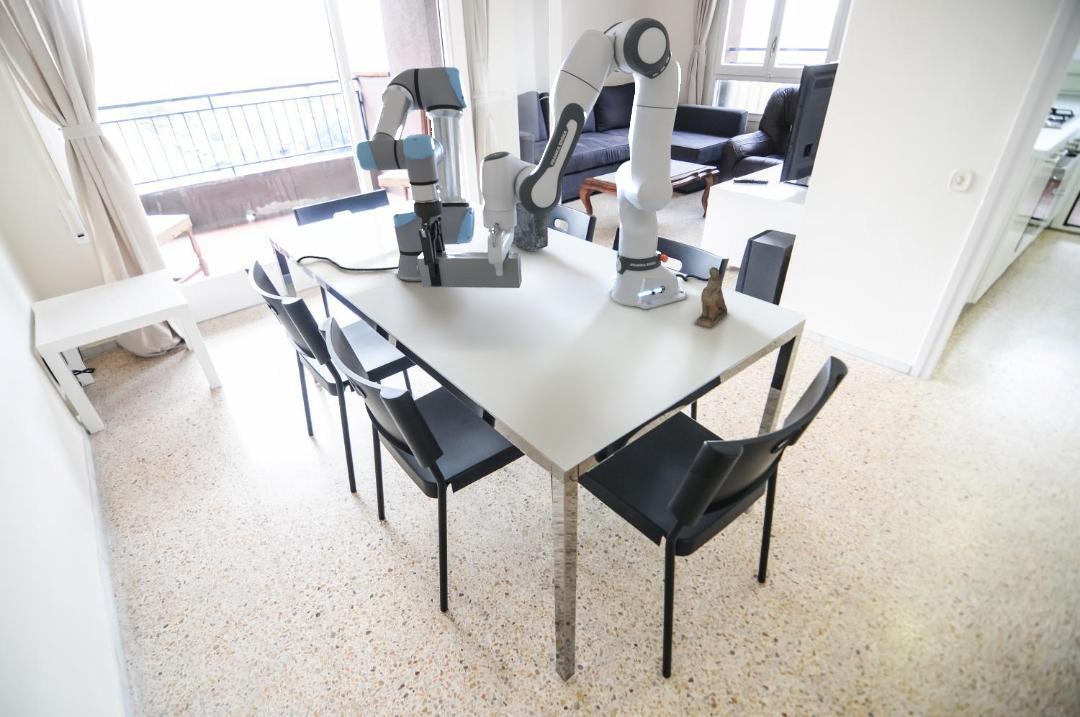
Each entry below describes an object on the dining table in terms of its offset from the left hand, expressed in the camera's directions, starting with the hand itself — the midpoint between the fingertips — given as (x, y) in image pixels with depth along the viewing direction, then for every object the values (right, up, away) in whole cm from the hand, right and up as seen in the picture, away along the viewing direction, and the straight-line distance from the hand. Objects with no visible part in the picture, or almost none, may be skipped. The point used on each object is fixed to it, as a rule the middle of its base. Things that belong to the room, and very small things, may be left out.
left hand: (439, 282), depth 142 cm
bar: (+10, -1, -1) cm, 10 cm away
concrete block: (+23, +22, +54) cm, 63 cm away
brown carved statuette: (+77, -11, -3) cm, 78 cm away
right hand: (+19, +3, -4) cm, 19 cm away
